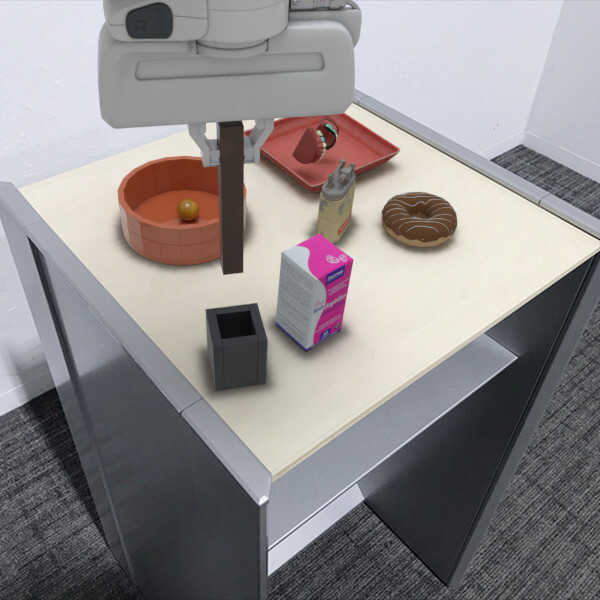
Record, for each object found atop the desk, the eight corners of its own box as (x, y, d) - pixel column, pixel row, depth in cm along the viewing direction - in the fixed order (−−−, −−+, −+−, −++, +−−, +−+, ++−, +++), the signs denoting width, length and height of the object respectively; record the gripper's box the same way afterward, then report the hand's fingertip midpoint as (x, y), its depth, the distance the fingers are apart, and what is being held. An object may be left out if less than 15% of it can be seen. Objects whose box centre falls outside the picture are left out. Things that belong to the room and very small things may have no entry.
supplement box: (307, 354, 76) (315, 279, 69) (274, 324, 79) (277, 250, 72) (343, 331, 79) (355, 257, 71) (310, 303, 82) (317, 230, 75)
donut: (436, 263, 90) (443, 240, 87) (366, 234, 93) (370, 211, 90) (465, 224, 96) (472, 201, 94) (399, 198, 100) (403, 176, 97)
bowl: (127, 272, 85) (121, 234, 80) (120, 196, 96) (114, 160, 92) (255, 258, 88) (256, 221, 84) (234, 186, 100) (234, 151, 95)
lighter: (334, 247, 91) (342, 185, 84) (309, 239, 92) (315, 177, 85) (353, 220, 96) (362, 159, 89) (329, 212, 97) (336, 151, 90)
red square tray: (310, 205, 97) (312, 186, 95) (240, 149, 107) (240, 131, 105) (399, 168, 106) (402, 149, 104) (326, 119, 116) (328, 102, 113)
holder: (215, 391, 72) (213, 347, 67) (207, 353, 76) (205, 309, 71) (266, 383, 73) (267, 340, 68) (256, 346, 77) (257, 302, 72)
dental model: (334, 154, 104) (309, 175, 98) (313, 137, 104) (287, 158, 98) (350, 126, 99) (324, 147, 94) (328, 109, 100) (301, 129, 94)
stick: (223, 275, 65) (219, 127, 54) (220, 262, 66) (215, 115, 55) (243, 272, 66) (244, 126, 55) (239, 259, 67) (239, 114, 56)
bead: (194, 223, 93) (173, 220, 92) (196, 202, 93) (175, 198, 92) (200, 221, 90) (179, 218, 89) (202, 199, 90) (181, 196, 89)
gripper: (352, -23, 53) (335, 134, 62) (82, -17, 48) (108, 151, 58) (378, 8, 48) (355, 172, 58) (83, 17, 44) (111, 192, 53)
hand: (230, 161), depth 58 cm, fingers closed on stick, 2 cm apart
